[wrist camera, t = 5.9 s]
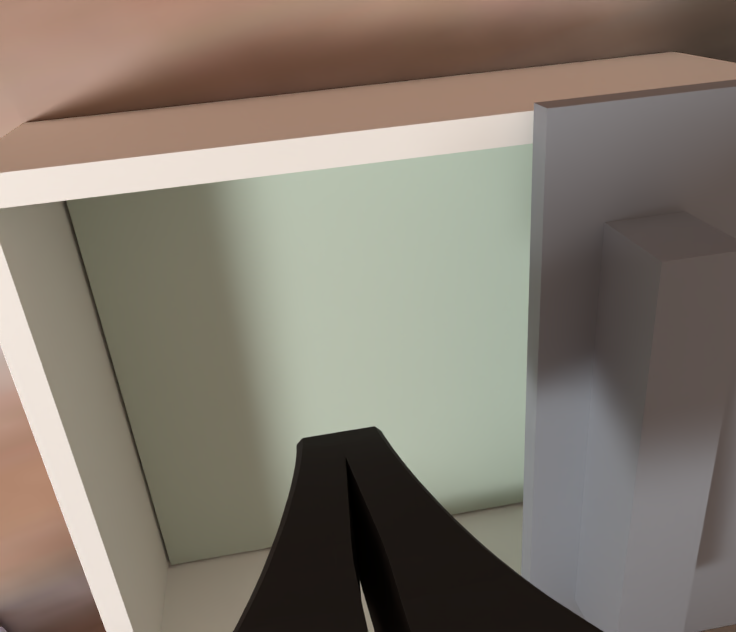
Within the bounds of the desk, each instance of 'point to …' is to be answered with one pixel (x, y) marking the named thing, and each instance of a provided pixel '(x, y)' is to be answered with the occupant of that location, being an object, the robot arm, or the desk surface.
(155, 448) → the white box
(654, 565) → the sliding lid
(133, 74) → the desk surface
